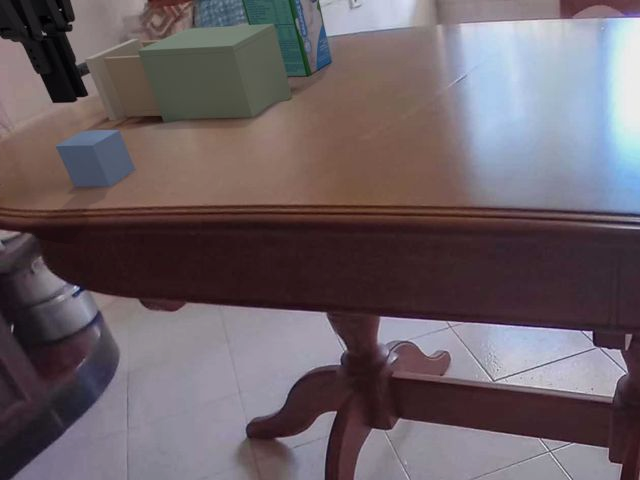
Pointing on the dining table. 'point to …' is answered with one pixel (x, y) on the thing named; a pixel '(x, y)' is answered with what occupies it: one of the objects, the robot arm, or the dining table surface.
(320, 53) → the milk carton
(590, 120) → the dining table surface
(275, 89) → the cabinet
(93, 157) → the block
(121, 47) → the drawer
